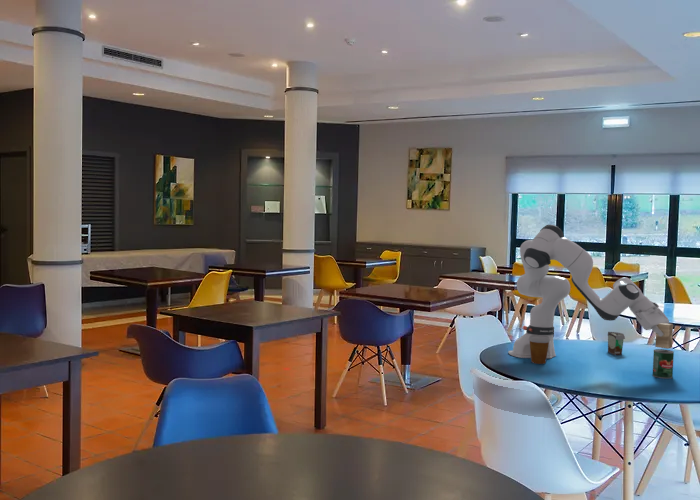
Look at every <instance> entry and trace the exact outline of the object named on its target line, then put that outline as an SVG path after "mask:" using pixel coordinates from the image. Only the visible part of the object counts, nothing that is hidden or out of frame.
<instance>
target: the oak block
mask: <svg viewBox="0 0 700 500" xmlns="http://www.w3.org/2000/svg"><path fill="white" fill-rule="evenodd" d="M657 327H658V328H659V329H660V330H661V331H663V333H664V335H663V336H661V337H660V336H659V335H658V334H657V333H656V332H655V346H654V347H656V348H659V349H665V350H669V349H671V348H673V333H674V324H673V323H660V324H658V325H657Z"/></svg>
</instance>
